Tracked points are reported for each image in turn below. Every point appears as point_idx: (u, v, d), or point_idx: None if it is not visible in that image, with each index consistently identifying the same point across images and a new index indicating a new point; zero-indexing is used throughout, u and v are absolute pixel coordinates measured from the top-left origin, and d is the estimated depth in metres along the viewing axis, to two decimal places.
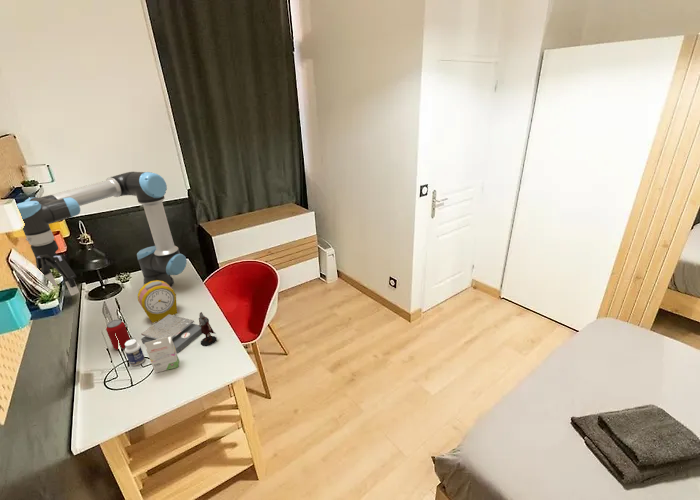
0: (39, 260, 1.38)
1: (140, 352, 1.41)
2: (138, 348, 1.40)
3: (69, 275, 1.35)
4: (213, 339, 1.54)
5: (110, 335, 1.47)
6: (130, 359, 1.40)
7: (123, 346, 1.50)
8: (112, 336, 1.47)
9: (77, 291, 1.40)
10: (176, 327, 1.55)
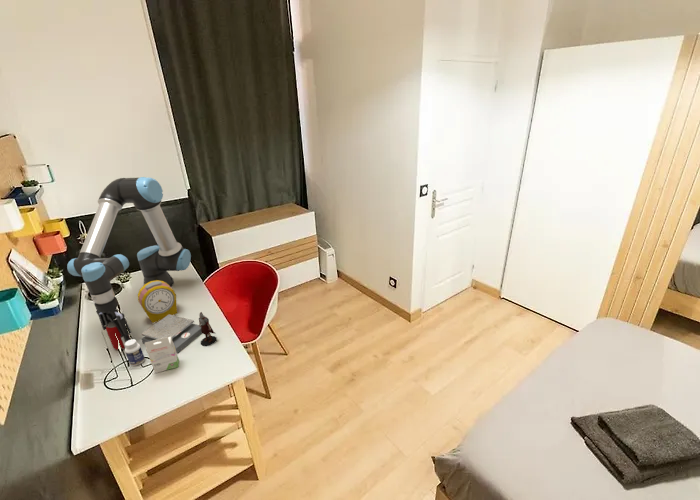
0: (102, 316, 1.48)
1: (140, 352, 1.41)
2: (138, 348, 1.40)
3: (126, 332, 1.46)
4: (213, 339, 1.54)
5: (110, 335, 1.47)
6: (130, 359, 1.40)
7: (123, 346, 1.50)
8: (112, 336, 1.47)
9: None
10: (176, 327, 1.55)
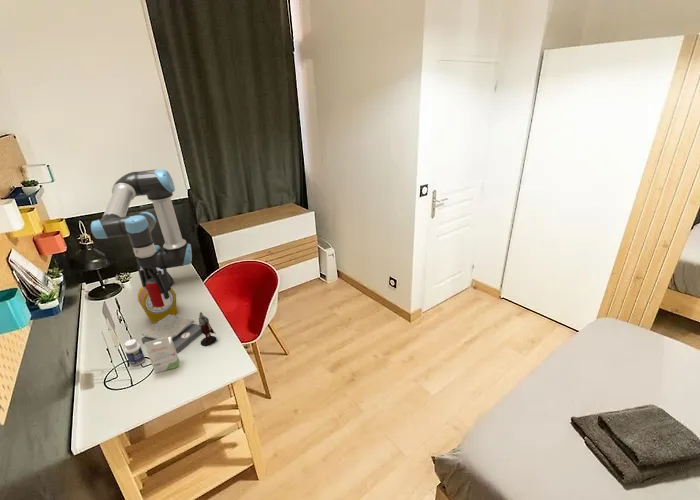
0: (142, 273, 1.46)
1: (140, 352, 1.41)
2: (138, 348, 1.40)
3: (166, 288, 1.44)
4: (213, 339, 1.54)
5: (150, 291, 1.45)
6: (130, 359, 1.40)
7: (162, 304, 1.48)
8: (152, 293, 1.45)
9: (169, 302, 1.50)
10: (176, 327, 1.55)
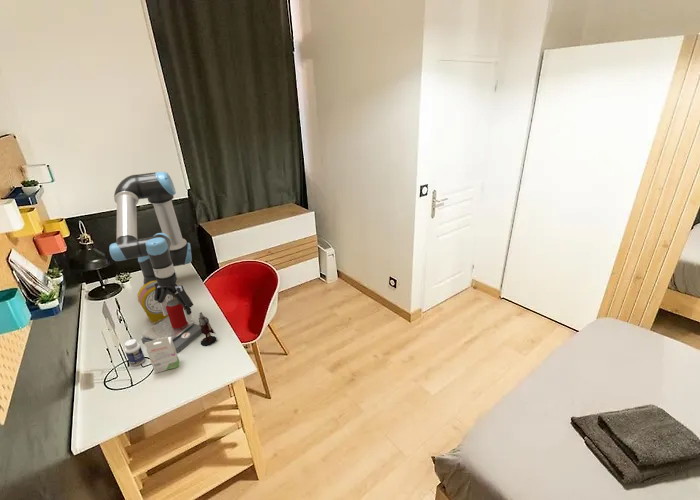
0: (158, 289, 1.52)
1: (140, 352, 1.41)
2: (138, 348, 1.40)
3: (188, 304, 1.48)
4: (213, 339, 1.54)
5: (170, 314, 1.51)
6: (130, 359, 1.40)
7: (181, 325, 1.54)
8: (172, 315, 1.51)
9: (191, 317, 1.54)
10: (176, 329, 1.55)
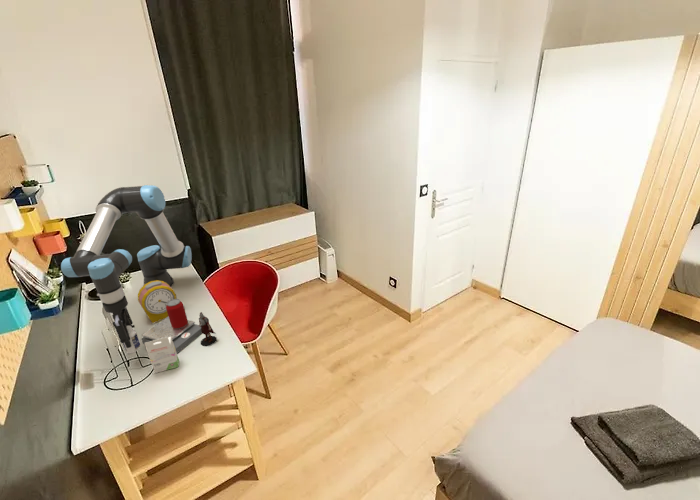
0: None
1: (136, 338, 1.39)
2: (134, 334, 1.38)
3: (121, 339, 1.32)
4: (213, 339, 1.54)
5: (170, 313, 1.51)
6: None
7: (181, 325, 1.55)
8: (172, 315, 1.51)
9: (134, 351, 1.38)
10: (176, 329, 1.55)
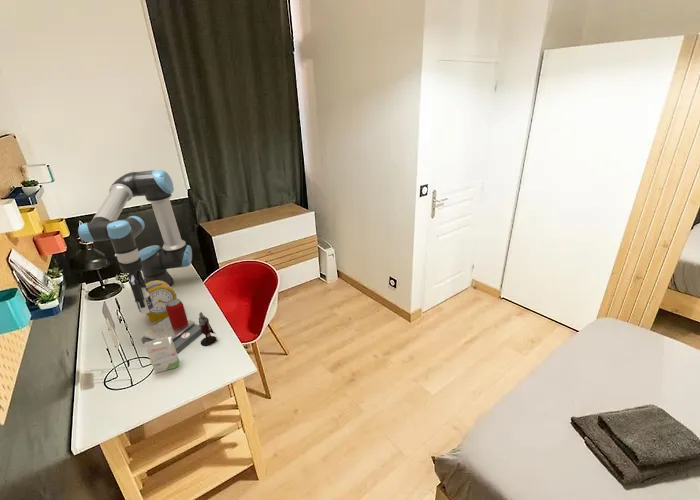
0: None
1: (149, 300, 1.47)
2: (147, 296, 1.46)
3: (136, 299, 1.40)
4: (213, 339, 1.54)
5: (170, 313, 1.51)
6: None
7: (181, 325, 1.55)
8: (172, 315, 1.51)
9: (147, 311, 1.46)
10: (176, 329, 1.55)
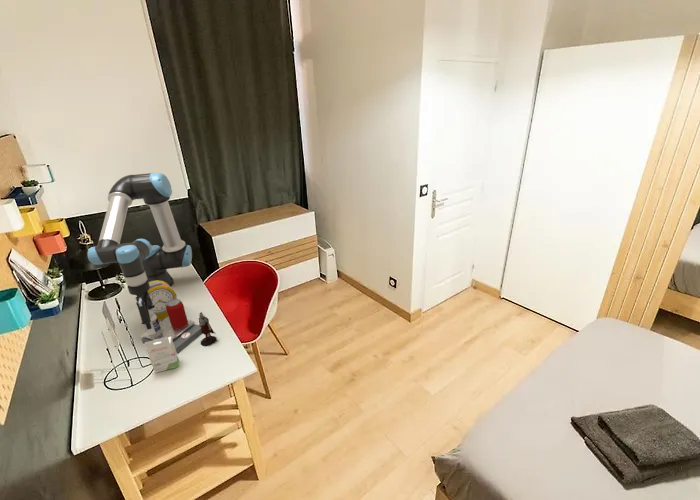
0: None
1: (157, 322, 1.52)
2: (155, 318, 1.51)
3: (143, 320, 1.43)
4: (213, 339, 1.54)
5: (170, 313, 1.51)
6: None
7: (181, 325, 1.55)
8: (172, 315, 1.51)
9: (153, 332, 1.49)
10: (176, 329, 1.55)
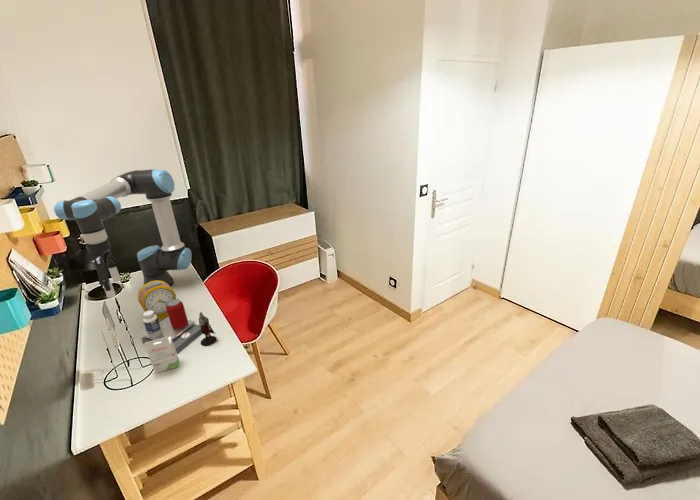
0: None
1: (157, 322, 1.52)
2: (155, 318, 1.51)
3: (100, 280, 1.32)
4: (213, 339, 1.54)
5: (170, 313, 1.51)
6: (148, 328, 1.50)
7: (181, 325, 1.55)
8: (172, 315, 1.51)
9: (113, 295, 1.38)
10: (176, 329, 1.55)
